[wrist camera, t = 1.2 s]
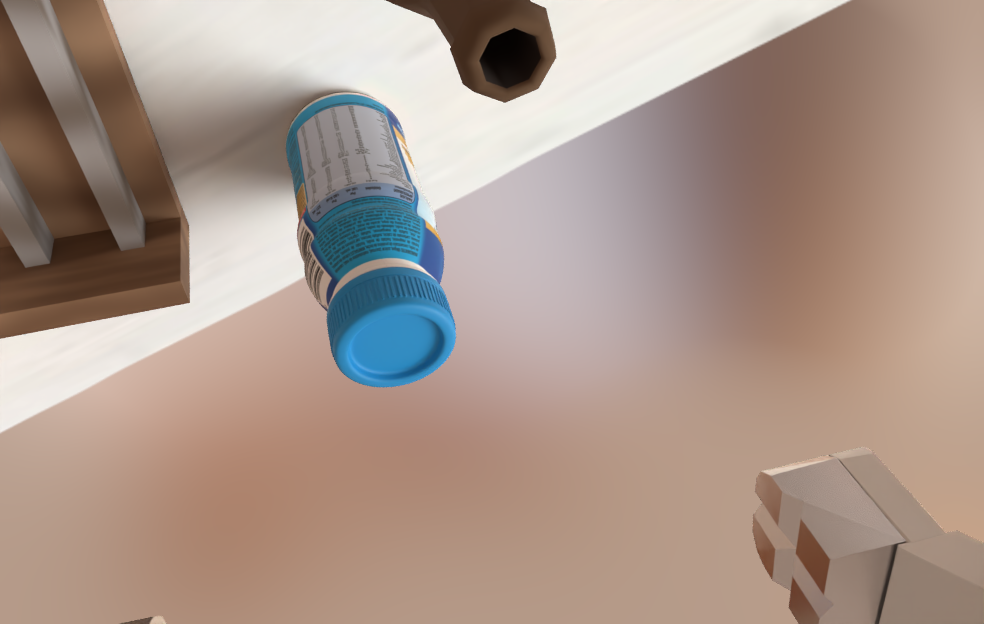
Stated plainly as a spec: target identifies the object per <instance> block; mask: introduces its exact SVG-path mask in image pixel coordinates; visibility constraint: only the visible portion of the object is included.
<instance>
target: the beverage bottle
mask: <svg viewBox="0 0 984 624" xmlns="http://www.w3.org/2000/svg"><path fill="white" fill-rule="evenodd" d="M286 153H287V159H288V163H289V167H290V170H291V173H292V178H293V184H294V191H295V198H296V204H297V211H298V218H299V223H298V229H297V239H298V246H299V250H300V253H301V256H302V259H303V261H304V263H305V276H306V280H307V283H308V286H309V288H310V290H311V292H312V293H313V295H314V297H315V298H316V299H317V301H318V302H319V304H320V305H321V306H322V307H323V308H324V309H325V310H326V311H327V326H328V334H329V340H330V346H331V351H332V354H333V357H334V360H335V362H336V364H337V366H338V367H339V369H340V370H341V372H342V373H343V374H344V375H346V376H347V377H348V378H350V379H351V380H353V381H355V382H357V383H360V384H363V385H367V386H372V387H394V386H400V385H405V384H409V383H412V382H415V381H417V380H420V379H422V378H424V377H426V376H428V375H429V374H431V373H432V372H434V371H435V370H436V369H438V368H439V367H440V366H441V365H442V364H443V363H444V362H445V361H446V360H447V358H448V357H449V355H450V354H451V352H452V350H453V348H454V344H455V339H456V333H455V329H456V328H455V323H454V319H453V316H452V313H451V310H450V307H449V303H448V301H447V298H446V295H445V293H444V291H443V289H442V287H441V286H440V282H441V278H442V274H443V267H444V251H443V246H442V243H441V240H440V237H439V235H438V234H437V226H436V220H435V216H434V213H433V210H432V207H431V205H430V203H429V202H428V200H427V199H426V197H425V196H424V193H423V191H422V188H421V185H420V182H419V179H418V177H417V174H416V171H415V168H414V165H413V163H412V160H411V157H410V154H409V151H408V148H407V145H406V141H405V137H404V133H403V130H402V127H401V125H400V123H399V121H398V119H397V117H396V116H395V115H394V113H393V112H392V111H391V110H390V109H389V108H388V107H387V106H386V105H384V104H383V103H382V102H380V101H378V100H376V99H374V98H372V97H370V96H367V95H364V94H359V93H352V92H342V93H334V94H330V95H326V96H323V97H321V98H319V99H316V100H315V101H313V102H311V103H310V104H308V105H307V106H306V107H304V108H303V109H302V110H301V111H300V112H299V113H298V115H297V116H296V117H295V119H294V120H293V122H292V124H291V126H290V128H289V131H288V134H287V139H286Z"/></svg>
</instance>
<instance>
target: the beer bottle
mask: <svg viewBox="0 0 984 624" xmlns="http://www.w3.org/2000/svg"><path fill="white" fill-rule="evenodd" d="M386 1H388V2H391V3H393V4H395V5H398V6H401V7H403V8H406V9H408V10H411V11H413V12H416V13H418V14H421V15H423V16H426V17H429V18H431V19H434V21H435V22H436V24H437V25H438V27H439V29H440V30H441V32H442V33H443V35H444V36H445V38H446V40H447V41H448V43H449V44H450V46H451V48H450V50H451V53H452V56H453V58H454V61H455V64H456V66H457V69H458V72H459V74H460V77H461V80H462V83H463V84H464V85H465V86H466V87H468V88H469V89H471V90H472V91H474V92H476V93H479V94H481V95H484V96H487V97H490V98H493V99H496V100H499V101H502V102H504V103H505V102H508V101H510V100H513V99H515V98H517V97H520V96H522V95H525V94H527V93H529V92H532V91H534V90H536V89H538V88H539V86H540V85H541V83H542V81H543V80H544V78H545V76H546V74H547V73H548V71H549V69H550V67H551V66H552V64H553V62H554V60H555V59H556V50H555V43H554V39H553V35H552V31H551V27H550V23H549V19H548V15H547V11H546V8H544V7H542V6H539V5H537V4H535V3H533V2H530V0H386Z"/></svg>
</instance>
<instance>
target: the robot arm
mask: <svg viewBox="0 0 984 624" xmlns="http://www.w3.org/2000/svg"><path fill="white" fill-rule="evenodd" d="M755 492H756V493H757V495H758V496H759V498H760V500H761V501H762V504H761V505H760V506H759V508H758V509H757V510H756V511H755V513H754V514H753V535H754V540H755V544H756V548H757V551H758V554H759V556H760V559H761V561H762V563H763V565H764V567H765V569H766V570H767V572H768V574H769V575H770V577H771V579H772V580H773V581H775V582H776V583H778V584H780V585H782V586H783V587H785V588H787V589H788V590H790V591H791V593H790V601H789V609H790V610H791V612H792V614H793V615H794V617H795V619H796V620H797V622H798V623H799V624H984V543H983V542H982V541H979V540H977V539H975V538H973V537H971V536H968V535H966V534H964V533H962V532H960V531H952V532H946V531H945V530H944V529H943V528H942V527H941V526H940V525H939V524H938V523H937V522H936V521H935V519H934V518H933V517H932V516H931V515H930V514H929V513H928V512H927V510H926V509H925V508H924V507H923V506H922V505H921V504H920V503H919V502H918V501H917V499H916V498H915V497H914V496H913V495H912V494H911V493H910V492H909V491H908V490H907V488H906V487H905V486H904V485H903V484H902V483H901V482H900V481H899V480H898V479H897V478H896V477H895V475H894V474H893V473H892V472H891V471H890V470H889V469H888V467H887V466H886V465H885V464H884V463H883V462H882V461H881V460H880V459H879V458H878V457H877V455H876V454H875V453H874V452H873V451H872V450H870V449H868V448H866V447H860V448H856V449H852V450H848V451H844V452H839V453H835V454H831V455H829V456H821V457H817V458H812V459H808V460H805V461H800V462H797V463H792V464H789V465H784V466H781V467H777V468H773V469H769V470H765V471H761V472H760V474H759V475H758V477H757V479H756V488H755ZM121 624H167V623H166V622H165V620H164V618H163V617H162V616H154V617H150V618H145V619H140V620H135V621H130V622H126V623H121Z"/></svg>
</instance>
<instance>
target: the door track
mask: <svg viewBox="0 0 984 624" xmlns="http://www.w3.org/2000/svg"><path fill="white" fill-rule="evenodd" d="M186 303H190V282H189V225H188V222H187V219H186V217H185V214H184V211H183V209H182V206H181V204H180V201H179V198H178V196H177V193H176V190H175V188H174V185H173V183H172V180H171V177H170V175H169V172H168V169H167V167H166V164H165V162H164V159H163V156H162V154H161V151H160V148H159V146H158V143H157V141H156V138H155V135H154V133H153V130H152V127H151V125H150V122H149V120H148V117H147V114H146V112H145V109H144V106H143V104H142V101H141V99H140V96H139V93H138V91H137V88H136V85H135V83H134V80H133V78H132V75H131V72H130V70H129V67H128V64H127V62H126V59H125V57H124V54H123V51H122V49H121V46H120V43H119V41H118V38H117V36H116V33H115V30H114V28H113V25H112V22H111V20H110V17H109V15H108V12H107V9H106V7H105V4H104V1H103V0H0V339H1V338H6V337H11V336H16V335H22V334H27V333H32V332H38V331H43V330H48V329H54V328H59V327H64V326H69V325H75V324H80V323H85V322H91V321H96V320H101V319H106V318H112V317H117V316H122V315H128V314H133V313H138V312H143V311H149V310H154V309H159V308H165V307H170V306H175V305H181V304H186Z"/></svg>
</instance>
